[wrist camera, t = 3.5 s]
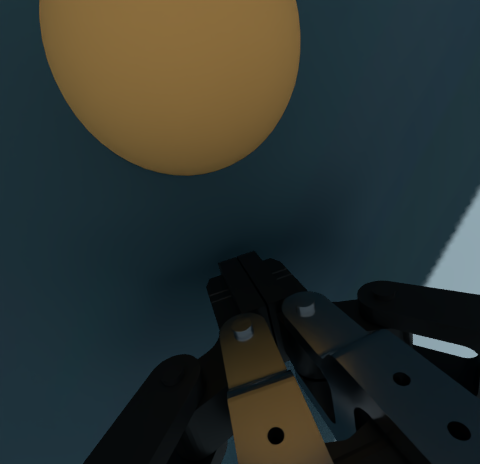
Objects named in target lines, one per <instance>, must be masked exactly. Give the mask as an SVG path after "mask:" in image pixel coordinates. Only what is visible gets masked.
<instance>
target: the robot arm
mask: <svg viewBox="0 0 480 464" xmlns="http://www.w3.org/2000/svg"><path fill="white" fill-rule="evenodd" d="M218 265H219V269H220V272H221V275H220V276H217V277H214V278H211V279H209V282H208V284H207V287H206V288H207V291H208V295H209V298H210V301H211V304H212V307H213V310H214V314H215V317H216V320H217V323H218V326H219V330H220V331H219V338H218V341H217V342H216V344H215V345H214V347H213V348H212V349H211V350H210V351H208V352H207V353H206V354H205V355H203V356H202V357H200V358H199V359H196V358H195V357H193V356H191V355H186V354H182V355H176V356H173V357H170V358H168V359H166V360H165V361H163V362H162V363H160V364H159V365H158V366H157V367H156V368H155V369H154V370H153V371H152V372H151V374H150V375H149V376H148V378H147V379H146V380H145V382H144V383H143V384H142V386H141V387H140V388H139V390H138V391H137V392H136V394H135V395H134V396H133V398H132V399H131V400H130V402H129V403H128V404H127V406H126V407H125V408H124V410H123V411H122V412H121V414H120V415H119V416H118V418H117V419H116V420H115V422H114V423H113V424H112V426H111V427H110V428H109V430H108V431H107V432H106V434H105V435H104V436H103V438H102V439H101V440H100V442H99V443H98V444H97V446H96V447H95V448H94V450H93V451H92V452H91V454H90V455H89V456H88V458H87V459H86V460H85V462H84V463H83V464H221V462H222V460H223V457H224V455H225V452H226V449H227V440H228V439H229V438H230V437H231V436H232V435H234V441H235V447H236V452H237V458H238V464H480V295H477V294H469V293H463V292H457V291H450V290H444V289H437V288H430V287H424V286H417V285H411V284H404V283H397V282H391V281H374V282H370V283H367V284H365V285H363V286H362V287H361V288H360V289H359V290H358V294H357V296H358V299H356V300H349V301H342V302H331V301H330V300H329V299H327V298H326V297H325V296H324V295H322V294H320V293H317V292H311V291H307V290H306V289H305V288H304V287H303V285H302V284H301V283H300V282H299V281H298V280H297V279H296V278H295V277H294V276H293V275H291V273H290V272H289V271H288V269H286V267H285V266H284V265H283V264H282V263H281V262H280V261H277V260H274V259H272V258H269V259H266V260H263V261H262V260H261V259H260V257H259V256H258V255H257V254H256V252H255V251H252V252H249V253H246V254H243V255H240V256H237V258H236V257H235V258H232V259H229V260H226V261H223V262H220V263H218ZM413 334H416V335H421V336H425V337H429V338H433V339H437V340H441V341H446V342H450V343H454V344H458V345H462V346H466V347H468V348H471V349H472V350H474V351H475V352H476V353H477V354H478V356H476V357H474V358H462V357H459V356H455V355H451V354H447V353H443V352H439V351H435V350H432V349H428V348H424V347H420V346H416V345H413ZM289 360H290V361H291V362H292V364H293V366H294V369H295V374H296V378H297V381H298V383H299V384H300V386H301V387H302V389H303V390H304V392H305V393H306V395H307V396H308V397H309V399H310V400H311V402H312V403H313V405H314V406H315V408H316V409H317V411H318V412H319V414H320V415H321V417H322V418H323V420H324V421H325V423H326V424H327V426H328V427H329V429H330V430H331V432H332V433H333V435H334V437H335V439H336V441H335V442H329V443H324V441H323V439H322V437H321V435H320V432H319V430H318V428H317V426H316V423H315V421H314V419H313V417H312V415H311V412H310V410H309V408H308V406H307V404H306V401H305V399H304V397H303V395H302V393H301V390H300V388H299V386H298V384H297V381H296V379H295V377H294V375H293V373H292V372H291V370H288V371H287V369H286V366H285V364H284V362H287V361H289Z"/></svg>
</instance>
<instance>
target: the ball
mask: <svg viewBox="0 0 480 464" xmlns="http://www.w3.org/2000/svg"><path fill="white" fill-rule="evenodd" d="M39 19H40V27H41V35H42V41H43V45H44V49H45V53H46V57H47V61H48V63H49V66H50V68H51V71H52V74H53V76H54V79H55V81H56V83H57V85H58V87H59V89H60V91H61V93H62V95H63V96H64V98H65V100H66V102H67V103H68V105H69V106H70V108H71V109H72V111H73V112H74V114H75V115H76V117H77V118H78V119H79V120H80V121H81V123H82V124H83V125H84V126H85V127H86V129H87V130H88V131H89V132H90V133H91V134H92V135H93V136H94V137H95V138H97V139H98V140H99V141H100V142H101V143H102V144H103V145H105V146H106V147H107V148H109V149H110V150H111V151H113V152H114V153H115V154H117V155H119V156H120V157H122V158H124V159H126V160H127V161H129V162H131V163H133V164H136V165H138V166H140V167H143V168H145V169H148V170H152V171H155V172H159V173H164V174H170V175H186V176H190V175H199V174H206V173H210V172H214V171H217V170H220V169H223V168H225V167H228V166H230V165H232V164H234V163H236V162H237V161H239V160H241V159H243V158H244V157H246V156H247V155H248V154H250V153H251V152H253V151H254V150H255V149H256V148H257V147H258V146H259V145H260V144H261V143H262V142H263V141H264V140H265V139H266V138H267V137H268V136H269V134H270V133H271V132H272V131H273V129H274V128H275V126H276V125H277V123H278V122H279V120H280V118H281V117H282V115H283V113H284V111H285V109H286V107H287V105H288V102H289V100H290V98H291V95H292V92H293V89H294V86H295V82H296V77H297V73H298V67H299V58H300V24H299V14H298V9H297V4H296V0H39Z"/></svg>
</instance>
